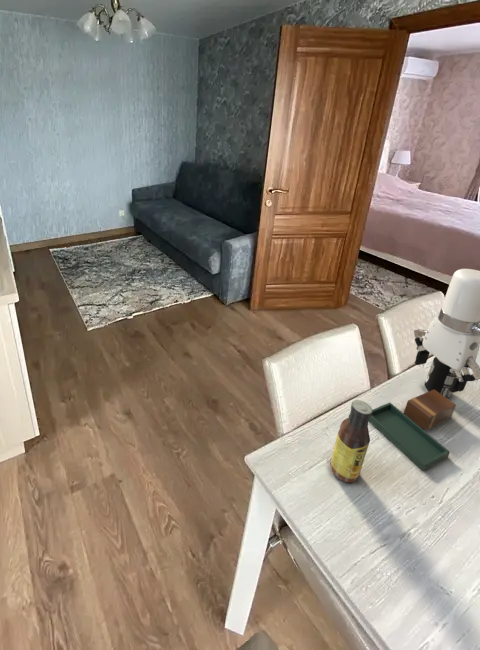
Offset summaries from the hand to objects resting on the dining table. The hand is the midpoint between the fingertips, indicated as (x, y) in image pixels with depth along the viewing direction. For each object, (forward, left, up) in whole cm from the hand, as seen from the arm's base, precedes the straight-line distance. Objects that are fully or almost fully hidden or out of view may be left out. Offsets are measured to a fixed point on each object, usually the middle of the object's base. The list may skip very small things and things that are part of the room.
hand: (436, 376), depth 88 cm
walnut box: (+1, -4, -16) cm, 17 cm away
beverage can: (+6, -16, -17) cm, 24 cm away
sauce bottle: (-2, +30, -17) cm, 34 cm away
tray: (-1, +8, -16) cm, 18 cm away
